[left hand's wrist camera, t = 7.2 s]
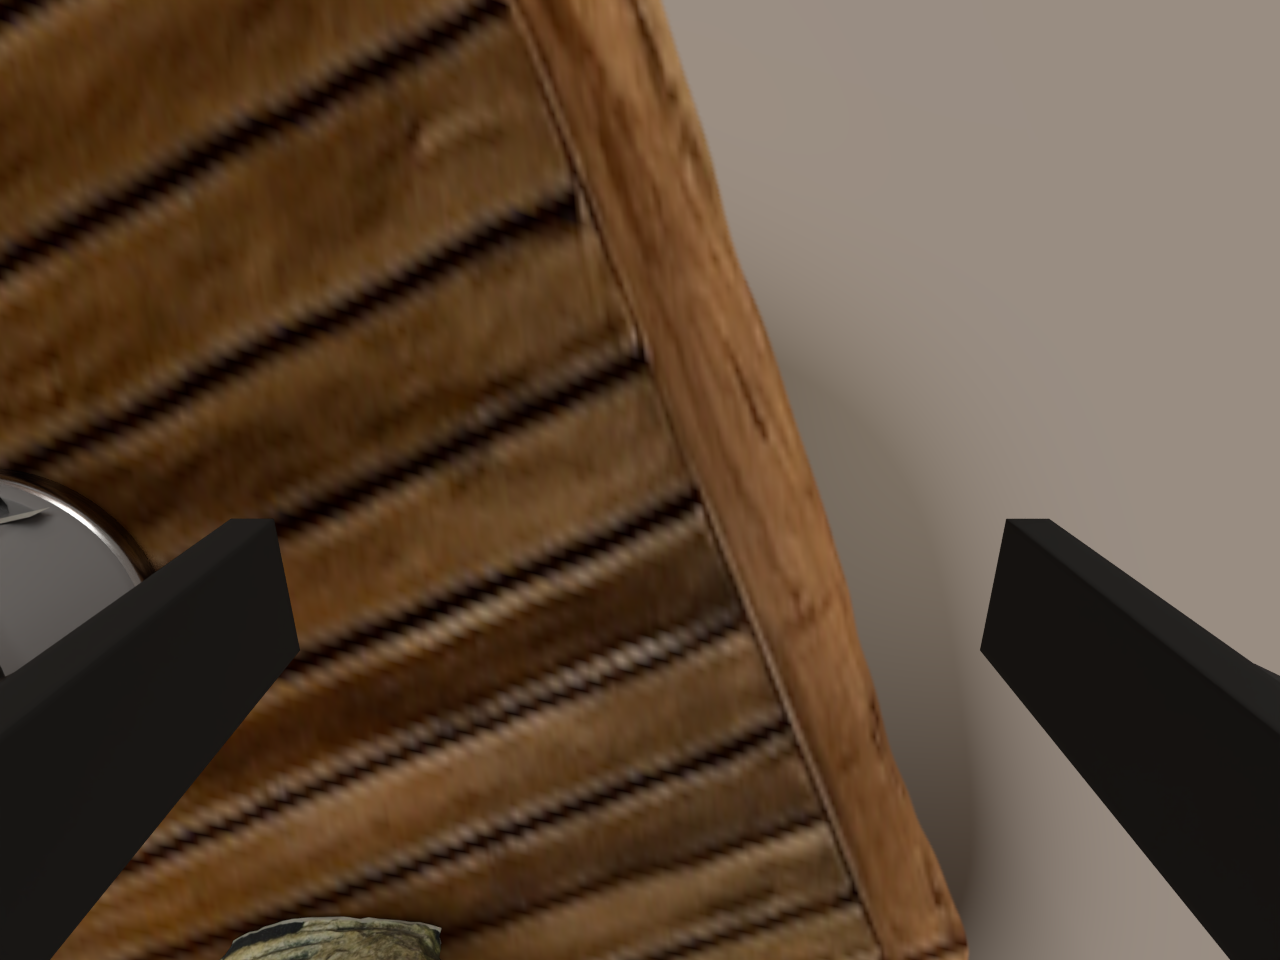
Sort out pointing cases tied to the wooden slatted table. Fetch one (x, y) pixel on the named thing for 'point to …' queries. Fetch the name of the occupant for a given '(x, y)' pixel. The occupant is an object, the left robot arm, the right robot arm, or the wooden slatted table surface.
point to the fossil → (339, 940)
